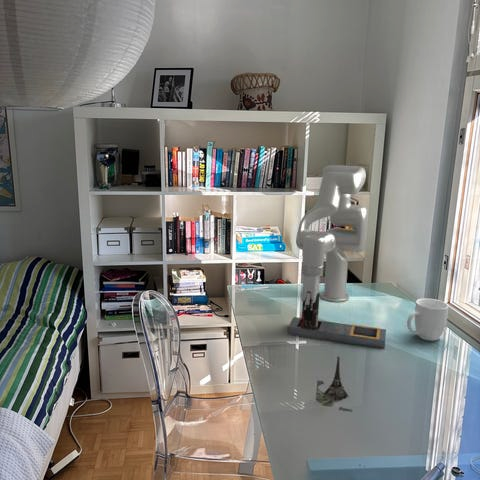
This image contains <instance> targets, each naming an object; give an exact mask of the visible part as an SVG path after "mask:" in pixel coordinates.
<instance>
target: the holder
mask: <svg viewBox="0 0 480 480" xmlns="http://www.w3.org/2000/svg"><path fill="white" fill-rule="evenodd" d="M301 323H302V317H297V316H295V317H294V316H293V318H292V319H291V321H290V323H289V324H288V326H287V335H290V336H296V337H304V338H310V339H316V338H317V340H324V341H329V340H330V342H336V341H337V343H344V344H350V345H351V344H352V345H358V346H365V347H372V348H378V349H385V348H386V347H385V345H386V335H387V334H386V333H387V329H384V328H380V327H373V326H366V325H361V324H360V325H359V324H349V323H348V324H347V323H340V322H333V321H325V320H319V319H318V328H317V330H316V329H309V328H302V327H301Z"/></svg>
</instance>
